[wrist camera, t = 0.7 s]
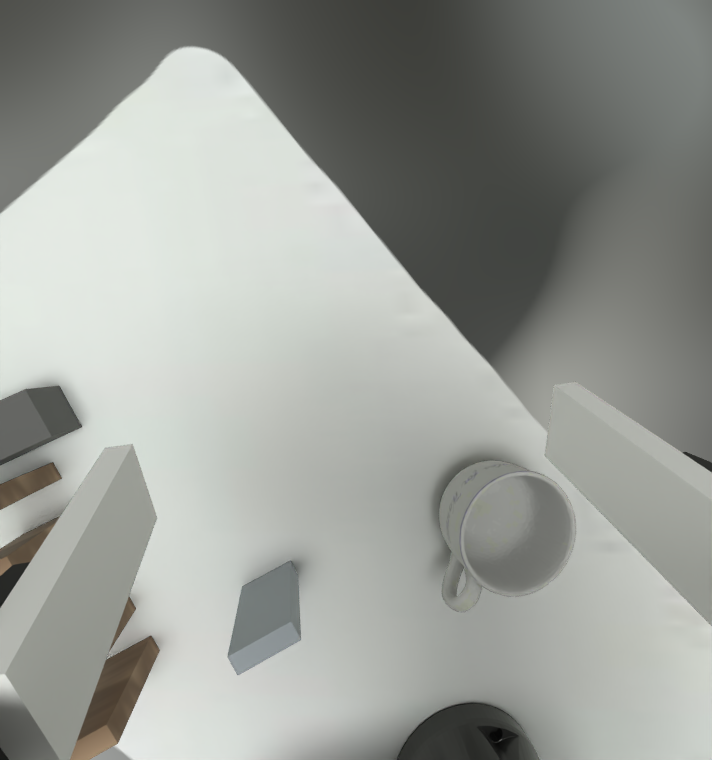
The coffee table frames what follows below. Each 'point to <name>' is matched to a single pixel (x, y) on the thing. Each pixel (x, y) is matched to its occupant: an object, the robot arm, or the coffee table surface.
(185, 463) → the coffee table surface
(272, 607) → the domino
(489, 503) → the teacup
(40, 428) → the block
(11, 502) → the domino
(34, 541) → the domino
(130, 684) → the domino
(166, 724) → the coffee table surface
